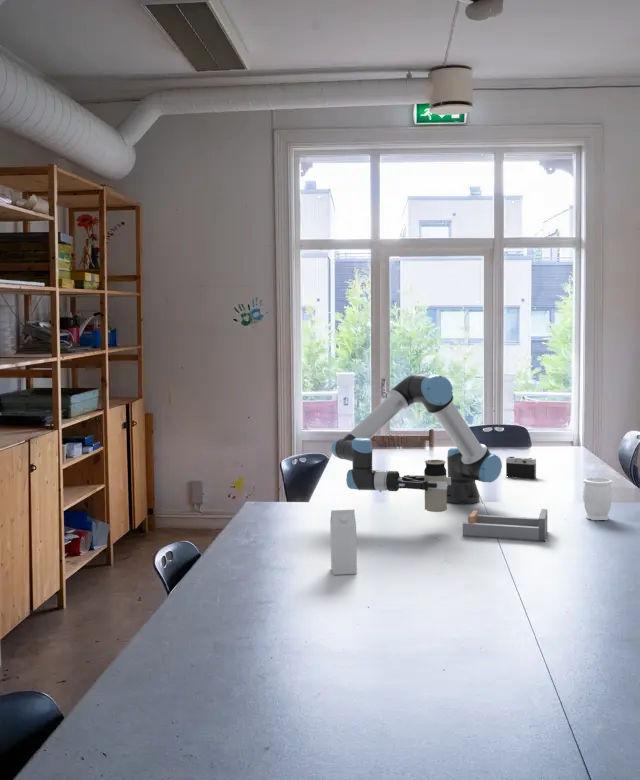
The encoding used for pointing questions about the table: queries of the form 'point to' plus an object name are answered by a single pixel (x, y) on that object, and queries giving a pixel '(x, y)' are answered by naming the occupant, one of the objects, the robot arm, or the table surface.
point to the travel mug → (435, 497)
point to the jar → (597, 498)
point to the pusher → (473, 517)
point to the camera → (521, 467)
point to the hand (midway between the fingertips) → (448, 483)
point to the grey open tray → (508, 527)
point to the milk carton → (343, 542)
